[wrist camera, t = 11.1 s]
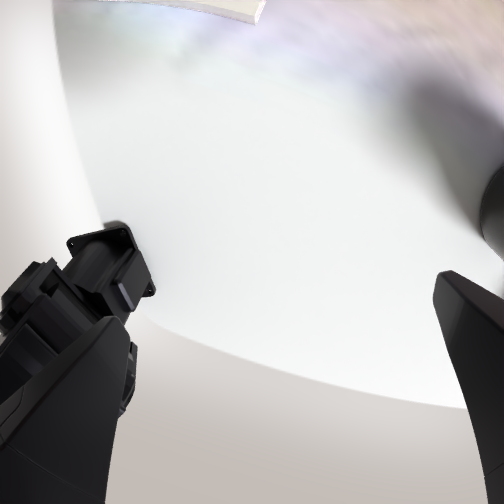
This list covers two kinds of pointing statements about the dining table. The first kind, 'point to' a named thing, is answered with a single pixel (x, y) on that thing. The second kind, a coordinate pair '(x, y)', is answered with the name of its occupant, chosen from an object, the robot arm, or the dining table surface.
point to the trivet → (216, 7)
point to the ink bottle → (494, 214)
